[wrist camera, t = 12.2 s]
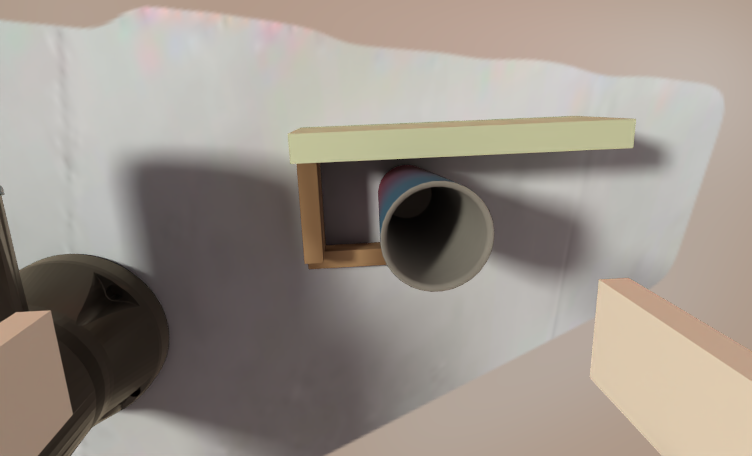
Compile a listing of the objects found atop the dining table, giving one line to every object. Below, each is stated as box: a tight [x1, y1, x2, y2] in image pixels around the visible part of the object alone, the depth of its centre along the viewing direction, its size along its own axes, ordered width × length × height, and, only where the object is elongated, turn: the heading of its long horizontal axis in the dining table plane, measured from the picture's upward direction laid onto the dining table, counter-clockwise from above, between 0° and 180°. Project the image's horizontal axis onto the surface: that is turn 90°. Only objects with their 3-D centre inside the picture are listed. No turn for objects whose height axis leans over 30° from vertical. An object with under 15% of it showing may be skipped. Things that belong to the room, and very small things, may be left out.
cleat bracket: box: [297, 163, 387, 269], centre depth 40 cm, size 13×10×5 cm
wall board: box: [288, 116, 636, 164], centre depth 37 cm, size 24×2×9 cm, turn 92°
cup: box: [378, 165, 494, 292], centre depth 36 cm, size 7×7×15 cm
